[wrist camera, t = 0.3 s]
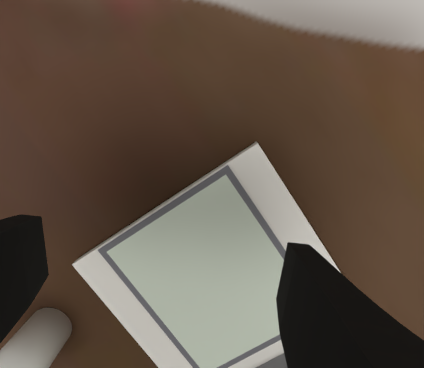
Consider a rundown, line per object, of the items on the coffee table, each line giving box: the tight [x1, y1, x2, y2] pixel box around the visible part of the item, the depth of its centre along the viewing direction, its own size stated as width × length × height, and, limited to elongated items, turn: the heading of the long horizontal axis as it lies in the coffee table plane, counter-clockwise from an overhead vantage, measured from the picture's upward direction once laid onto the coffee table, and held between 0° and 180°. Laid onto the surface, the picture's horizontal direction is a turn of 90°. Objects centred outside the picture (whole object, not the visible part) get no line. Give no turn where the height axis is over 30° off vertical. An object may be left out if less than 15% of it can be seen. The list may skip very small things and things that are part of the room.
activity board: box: [72, 142, 341, 368], centre depth 20 cm, size 14×18×3 cm
